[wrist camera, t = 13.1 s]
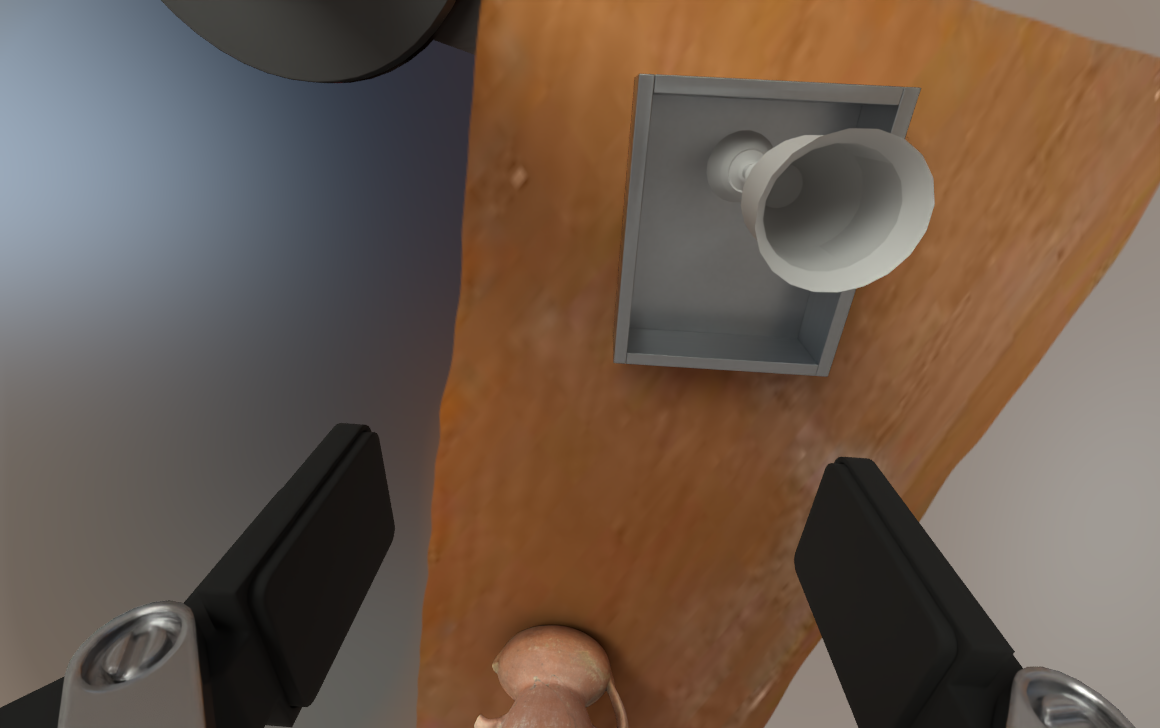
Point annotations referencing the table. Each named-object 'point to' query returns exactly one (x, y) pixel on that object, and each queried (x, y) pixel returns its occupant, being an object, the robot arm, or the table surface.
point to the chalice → (827, 202)
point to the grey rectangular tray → (725, 226)
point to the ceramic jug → (553, 679)
